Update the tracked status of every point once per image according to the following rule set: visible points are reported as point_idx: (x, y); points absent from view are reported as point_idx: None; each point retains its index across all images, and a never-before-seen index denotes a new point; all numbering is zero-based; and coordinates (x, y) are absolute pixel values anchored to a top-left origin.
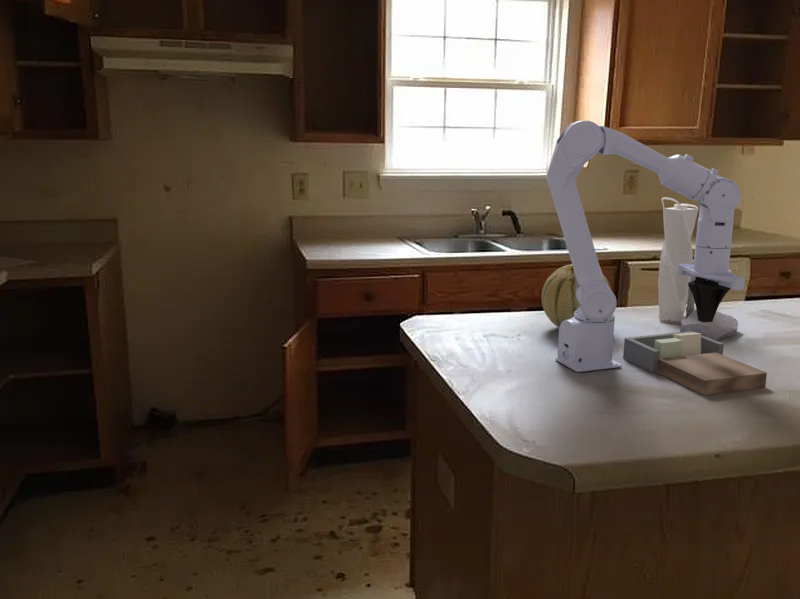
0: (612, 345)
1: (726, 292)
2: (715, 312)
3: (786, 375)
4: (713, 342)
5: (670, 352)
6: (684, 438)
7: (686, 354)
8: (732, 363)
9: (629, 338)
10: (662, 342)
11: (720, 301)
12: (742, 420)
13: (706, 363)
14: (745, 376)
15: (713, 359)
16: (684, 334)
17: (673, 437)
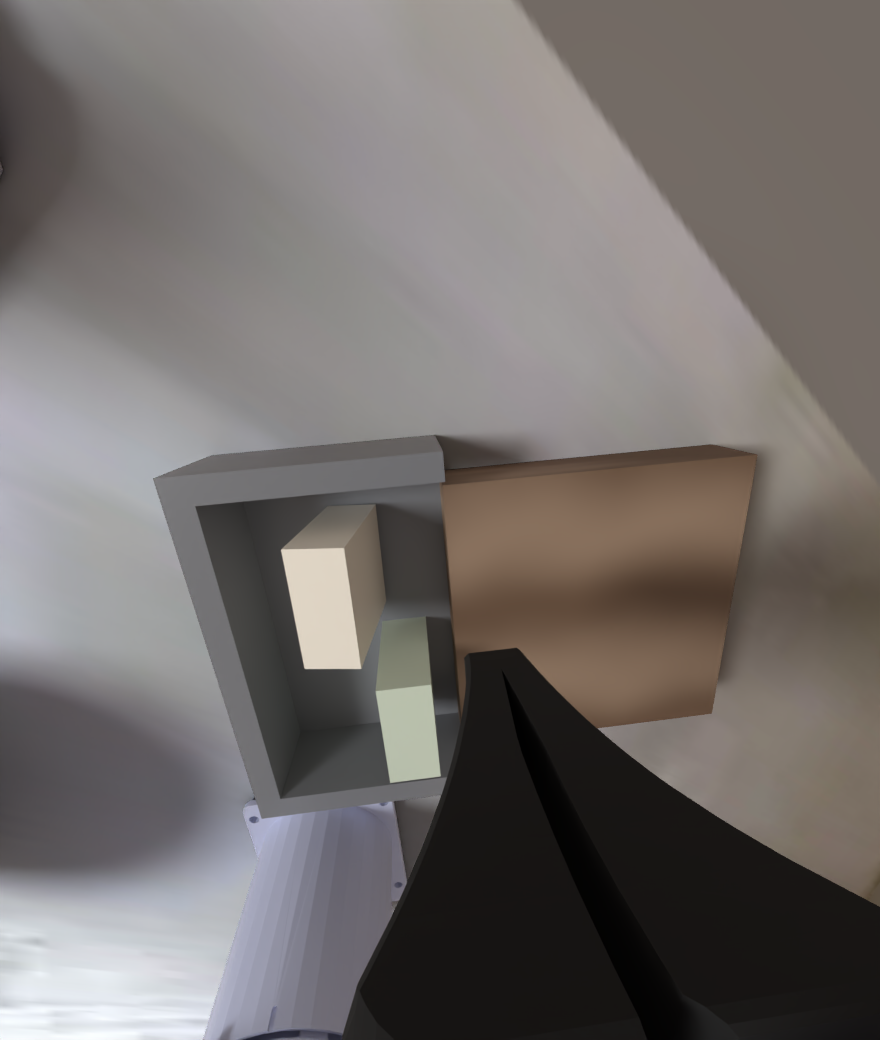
0: (362, 882)
1: (790, 872)
2: (553, 690)
3: (647, 233)
4: (397, 485)
5: (433, 699)
6: (844, 826)
7: (379, 583)
8: (603, 516)
9: (273, 805)
10: (433, 771)
11: (643, 772)
12: (853, 679)
13: (566, 616)
14: (736, 559)
15: (531, 560)
16: (334, 632)
17: (828, 841)
